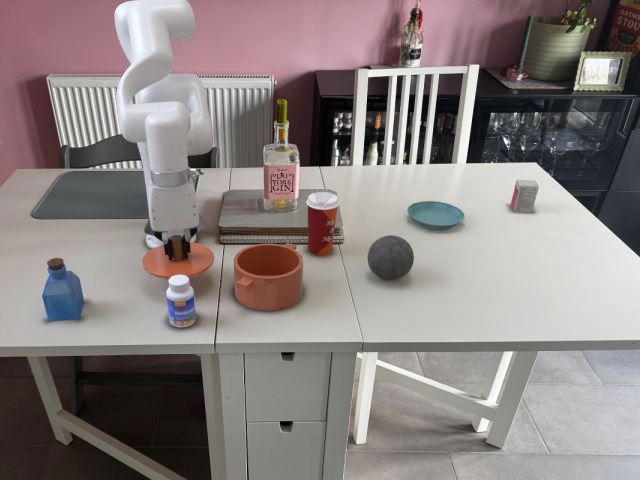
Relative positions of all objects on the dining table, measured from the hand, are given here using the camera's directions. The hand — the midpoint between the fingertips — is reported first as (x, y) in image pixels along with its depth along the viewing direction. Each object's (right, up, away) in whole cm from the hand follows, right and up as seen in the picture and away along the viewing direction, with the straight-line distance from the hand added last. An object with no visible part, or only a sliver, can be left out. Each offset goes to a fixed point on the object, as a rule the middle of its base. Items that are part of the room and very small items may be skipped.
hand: (178, 255), depth 123 cm
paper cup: (+33, +2, +16) cm, 36 cm away
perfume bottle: (-23, -12, -5) cm, 26 cm away
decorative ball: (+47, -5, +5) cm, 47 cm away
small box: (+91, +15, +35) cm, 98 cm away
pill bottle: (+2, -14, -8) cm, 16 cm away
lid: (0, -1, +1) cm, 1 cm away
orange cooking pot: (+20, -8, +1) cm, 21 cm away
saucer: (+65, +11, +29) cm, 72 cm away
